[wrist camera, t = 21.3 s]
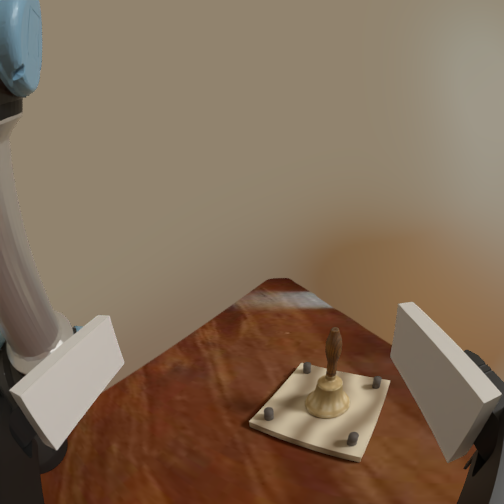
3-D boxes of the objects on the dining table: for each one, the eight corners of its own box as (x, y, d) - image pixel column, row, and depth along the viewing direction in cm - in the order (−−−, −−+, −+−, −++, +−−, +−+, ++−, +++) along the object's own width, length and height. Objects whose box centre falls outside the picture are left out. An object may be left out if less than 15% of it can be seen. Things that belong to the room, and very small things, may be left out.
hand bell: (349, 388, 45) (357, 315, 42) (350, 418, 37) (363, 342, 34) (306, 388, 47) (308, 316, 44) (302, 418, 40) (303, 343, 36)
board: (249, 426, 41) (247, 414, 40) (301, 368, 56) (301, 355, 56) (359, 462, 29) (363, 450, 28) (388, 386, 45) (392, 372, 44)
